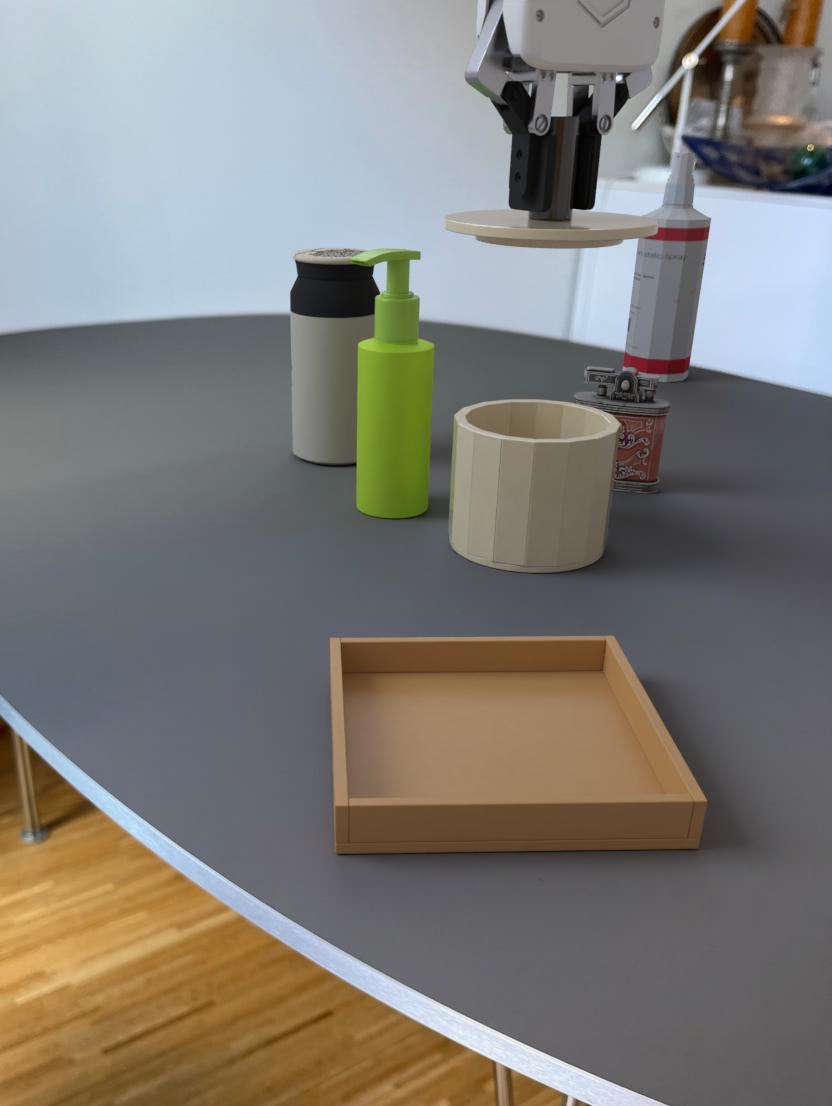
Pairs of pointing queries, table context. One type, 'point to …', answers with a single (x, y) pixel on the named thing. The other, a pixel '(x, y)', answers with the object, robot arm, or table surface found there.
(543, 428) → the tin
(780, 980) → the table surface
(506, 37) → the robot arm
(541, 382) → the table surface
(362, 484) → the soap dispenser
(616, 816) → the tray
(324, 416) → the travel mug
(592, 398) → the lighter
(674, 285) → the glue bottle
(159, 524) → the table surface
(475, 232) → the tin lid
